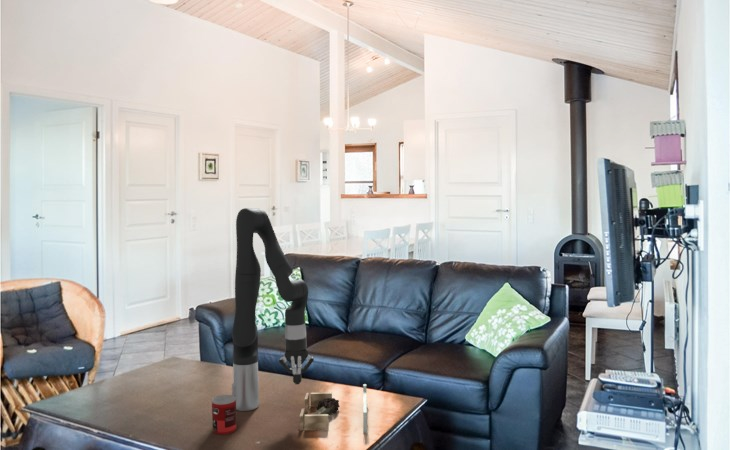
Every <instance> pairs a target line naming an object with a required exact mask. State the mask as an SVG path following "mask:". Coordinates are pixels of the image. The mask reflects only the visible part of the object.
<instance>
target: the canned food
mask: <svg viewBox="0 0 730 450" xmlns="http://www.w3.org/2000/svg"><path fill="white" fill-rule="evenodd" d="M211 414H212V416H211V417H212V418H211V419H212V420H211V422H212V431H213V433H215V434H216V435H222V436H223V435H230V434H232V433H234V432H235V431H236V430H237V410H236V397H235V396H233V395H232V394H222V395H221V394H220V395H216V396H214V397H212V399H211Z"/></svg>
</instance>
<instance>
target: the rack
mask: <svg viewBox="0 0 730 450" xmlns="http://www.w3.org/2000/svg"><path fill="white" fill-rule="evenodd" d="M362 388H363V389H362V390H363V391H362V396H363V397H362V398H363V399H362V400H363V403H362V407H363V410H362V411H363V413H362V415H363V418H362V419H363V421H362V422H363V423H362V424H363V434H368V405H367V401H368V399H367V384H366V383H364V384H362Z"/></svg>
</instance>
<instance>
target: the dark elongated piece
mask: <svg viewBox="0 0 730 450" xmlns="http://www.w3.org/2000/svg"><path fill="white" fill-rule="evenodd" d="M339 402H340V400H339V399H336V398H334V397H332V398H326V399H323V400H320V401H319V403H318V407H316V411H315V412H313V413H312V414H328V416H329V417H330V416H331V415H333V414H337V412H338V411H339V408H340V407H341V406H340V403H339Z"/></svg>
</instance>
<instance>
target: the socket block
mask: <svg viewBox="0 0 730 450" xmlns="http://www.w3.org/2000/svg"><path fill="white" fill-rule="evenodd" d="M326 398H333V392H326V391H325V392H306V393H305V397H304V408H301V411H300V414H299V431H329V430H330V429H329V427H330V423H329V422H330V421H329V417H330V416H328V414H313V413H312V414H306V413H308V411H309V408H317V407H318V403H319V401H320V400H323V399H326Z"/></svg>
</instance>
